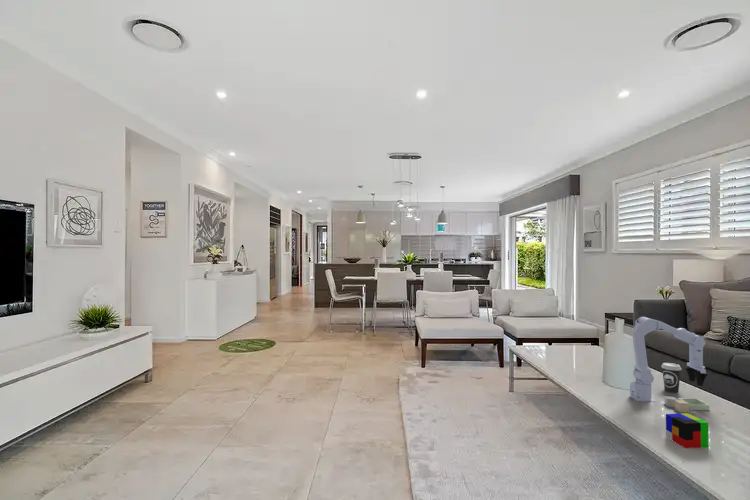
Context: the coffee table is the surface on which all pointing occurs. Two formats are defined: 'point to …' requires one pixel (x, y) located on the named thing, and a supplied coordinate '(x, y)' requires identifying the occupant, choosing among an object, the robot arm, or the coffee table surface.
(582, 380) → the coffee table surface
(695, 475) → the coffee table surface
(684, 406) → the tan wooden cube
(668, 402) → the matte grey cube
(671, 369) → the coffee cup
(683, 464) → the coffee table surface
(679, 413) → the slate mat
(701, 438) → the puzzle toy
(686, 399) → the green bin
